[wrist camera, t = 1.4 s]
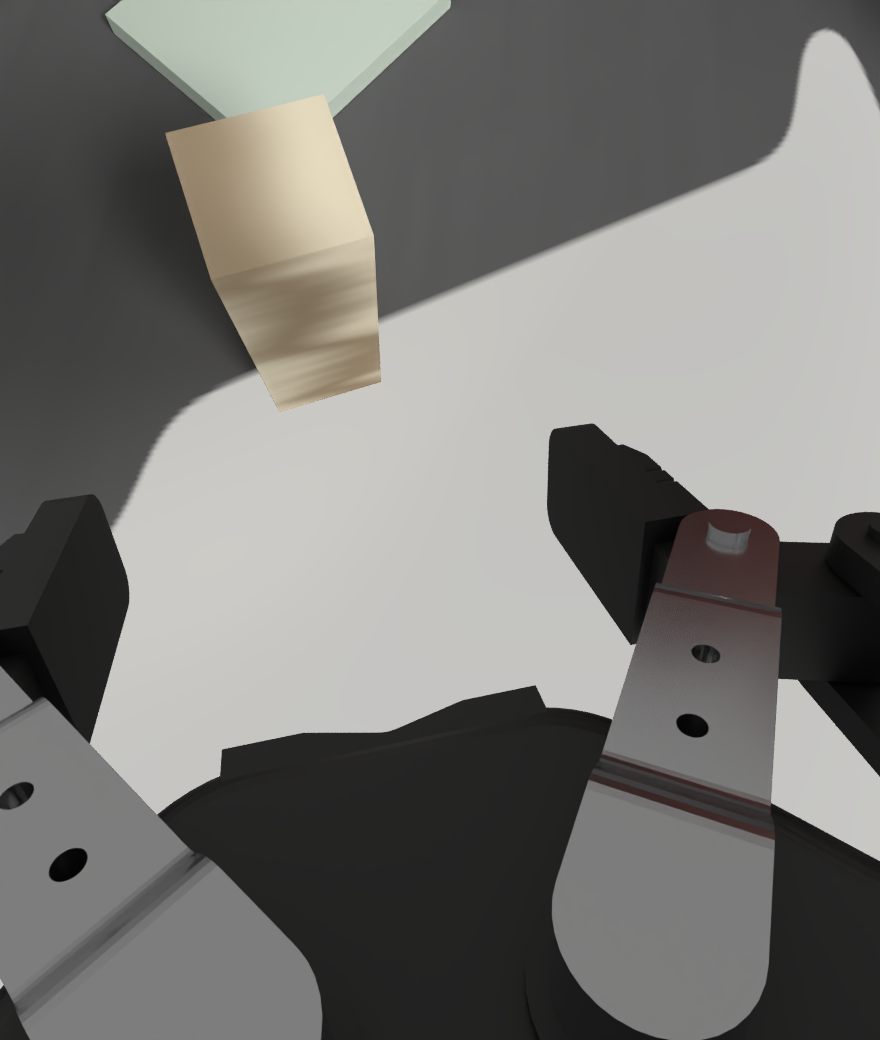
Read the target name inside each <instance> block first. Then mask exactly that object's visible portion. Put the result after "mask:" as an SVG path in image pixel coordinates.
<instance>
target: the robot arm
mask: <svg viewBox="0 0 880 1040" xmlns="http://www.w3.org/2000/svg"><path fill="white" fill-rule="evenodd" d="M548 460H549V461H548V493H547V510H548V517H549V521H550V525H551V528H552V531H553V533H554V535H555V536H556V538H557V539H558V541H559V542H560V544H561V545H562V546H563V548H564V549H565V551H566V552H567V553H568V555H569V557H570V558H571V559H572V561H573V562H574V564H575V565H576V567H577V568H578V570H579V571H580V572H581V574H582V575H583V577H584V578H585V580H586V581H587V583H588V584H589V585H590V587H591V588H592V590H593V591H594V593H595V594H596V595H597V597H598V598H599V600H600V601H601V603H602V604H603V606H604V607H605V609H606V610H607V611H608V613H609V614H610V616H611V617H612V619H613V620H614V622H615V623H616V624H617V626H618V627H619V629H620V630H621V632H622V633H623V635H624V636H625V637H626V639H627V640H628V642H629V643H630V645H632V644H636V647H635V650H634V654H633V657H632V660H631V663H630V666H629V669H628V672H627V676H626V679H625V682H624V685H623V689H622V691H621V695H620V698H619V701H618V704H617V708H616V710H615V714H614V717H613V720H611V719H609V718H606V717H603V716H599V715H596V714H592V713H588V712H583V711H578V710H572V709H563V708H546V707H545V704H544V702H543V701H542V698H541V696H540V694H539V692H538V690H537V688H536V686H530V687H525V688H520V689H516V690H510V691H506V692H501V693H496V694H491V695H486V696H482V697H477V698H472V699H467V700H462V701H460V702H458V703H455V704H453V705H451V706H448V707H446V708H444V709H441V710H439V711H437V712H434V713H432V714H430V715H428V716H425V717H423V718H421V719H418V720H416V721H414V722H411V723H409V724H407V725H405V726H402V727H400V728H398V729H395V730H392V731H389V732H383V733H301V734H296V735H291V736H286V737H281V738H276V739H271V740H266V741H262V742H257V743H252V744H247V745H242V746H237V747H232V748H228V749H223V750H222V758H221V772H220V776H219V777H217V778H215V779H213V780H210V781H208V782H206V783H204V784H203V785H201V786H199V787H197V788H196V789H193V790H192V791H190V792H188V793H187V794H185V795H184V796H182V797H181V798H179V799H177V800H176V801H174V802H173V803H172V804H170V805H169V806H168V807H166V808H165V809H164V810H163V811H161V812H160V813H159V814H158V815H156V813H155V812H154V811H153V810H152V809H151V808H150V807H149V806H148V805H147V804H146V803H145V802H144V801H143V800H142V799H141V798H140V797H139V795H138V794H137V793H136V792H135V791H134V790H133V789H132V788H131V787H130V786H129V785H128V784H127V783H126V782H125V781H124V780H123V779H122V778H121V777H120V776H119V774H118V773H117V772H116V771H114V769H113V768H112V767H111V766H110V765H109V764H108V763H107V762H106V761H105V760H104V759H103V758H102V757H101V755H99V753H97V751H96V750H95V749H94V748H93V747H92V746H91V745H90V741H91V737H92V734H93V730H94V726H95V723H96V719H97V716H98V712H99V709H100V705H101V702H102V698H103V694H104V691H105V687H106V684H107V680H108V677H109V673H110V670H111V666H112V662H113V659H114V656H115V652H116V648H117V645H118V641H119V638H120V634H121V631H122V627H123V623H124V620H125V617H126V613H127V609H128V605H129V586H128V579H127V575H126V571H125V568H124V566H123V563H122V560H121V557H120V554H119V552H118V549H117V546H116V543H115V541H114V538H113V535H112V532H111V529H110V527H109V524H108V521H107V518H106V516H105V513H104V510H103V508H102V505H101V503H100V501H99V500H98V498H97V497H96V496H95V495H93V494H91V495H84V496H77V497H70V498H63V499H56V500H49V501H44V502H43V503H42V504H41V506H40V508H39V509H38V511H37V513H36V514H35V516H34V518H33V520H32V521H31V523H30V525H29V526H28V528H27V530H26V532H25V533H22V534H15V535H13V536H12V537H11V538H10V539H8V540H7V541H6V542H4V543H3V544H2V545H1V546H0V979H1V981H2V982H3V984H4V985H3V987H2V988H1V989H0V1040H880V861H878V860H876V859H874V858H873V857H871V856H869V855H867V854H865V853H863V852H862V851H860V850H858V849H856V848H854V847H852V846H850V845H848V844H847V843H844V842H843V841H841V840H839V839H837V838H835V837H833V836H832V835H830V834H828V833H826V832H824V831H822V830H821V829H819V828H817V827H815V826H813V825H811V824H809V823H807V822H806V821H804V820H802V819H800V818H798V817H796V816H794V815H793V814H791V813H789V812H787V811H785V810H783V809H781V808H779V807H778V806H776V805H774V804H772V803H771V791H772V774H773V757H774V740H775V723H776V722H775V721H776V705H777V688H778V679H795V680H798V681H799V682H800V683H801V685H802V686H803V687H804V688H805V689H806V691H807V692H808V693H809V694H810V695H811V697H812V698H813V699H814V700H815V701H816V702H817V703H818V705H819V706H820V707H821V708H822V709H823V710H824V711H825V713H826V714H827V715H828V716H829V718H830V719H831V720H832V721H833V722H834V723H835V725H836V726H837V727H838V728H839V729H840V730H841V732H842V733H843V734H844V735H845V736H846V737H847V739H848V740H849V741H850V742H851V743H852V745H853V746H854V747H855V748H856V749H857V750H858V752H859V753H860V754H861V755H862V756H863V757H864V759H865V760H866V761H867V762H868V763H869V764H870V765H871V767H872V768H873V769H874V770H875V772H876V773H877V774H878V775H879V776H880V513H876V512H860V513H854V514H849V515H846V516H843V517H842V518H840V519H839V520H838V521H837V522H836V524H835V527H834V531H833V534H832V537H831V541H830V543H807V542H780V541H779V536H778V534H777V532H776V531H775V530H774V529H773V528H772V527H771V526H770V525H769V524H767V523H766V522H764V521H763V520H761V519H759V518H757V517H754V516H752V515H749V514H745V513H742V512H737V511H733V510H723V509H712V510H711V509H710V510H709V509H708V508H706V507H705V506H704V505H703V504H702V503H701V502H700V501H698V500H697V499H696V498H695V497H694V496H693V495H692V494H691V493H690V492H688V491H687V490H686V489H685V488H684V487H683V486H681V485H680V484H679V483H678V482H677V481H676V482H674V478H673V477H671V476H670V475H669V474H668V473H667V472H666V471H664V470H663V471H662V469H661V467H660V466H659V465H658V464H657V463H655V462H654V461H653V460H652V459H651V458H650V457H649V456H648V455H646V454H644V453H642V452H639V451H637V450H635V449H633V448H630V447H628V446H625V445H617V444H615V443H614V442H613V441H612V440H611V439H610V438H609V437H608V436H607V435H606V434H604V433H603V431H601V430H600V429H599V428H598V427H597V426H596V425H595V424H585V425H578V426H571V427H564V428H557V429H554V430H553V431H552V432H551V435H550V439H549V459H548Z"/></svg>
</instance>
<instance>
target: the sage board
mask: <svg viewBox="0 0 880 1040" xmlns="http://www.w3.org/2000/svg"><path fill="white" fill-rule="evenodd" d="M450 5H451V0H122V1H120V2H119V3H118V4H117V5H116V6H114V7H113V8H112V9H111V10H110V11H108V12H107V13H106V14H105V15H106V17H107V20H108V22H109V24H110V26H111V28H112V30H113V32H114V34H115V35H116V36H117V37H118V38H120V39H121V40H122V41H123V42H124V43H126V44H127V45H128V46H129V47H130V48H131V49H133V50H134V51H135V52H136V53H137V54H138V55H140V56H141V57H142V58H143V59H144V60H146V61H147V62H148V63H149V64H150V65H151V66H153V67H154V68H155V69H156V70H157V71H158V72H160V73H161V74H162V75H163V76H164V77H165V78H167V79H168V80H169V81H170V82H171V83H173V84H174V85H175V86H176V87H177V88H178V89H180V90H181V91H182V92H183V93H184V94H185V95H187V96H188V97H189V98H190V99H191V100H193V101H194V102H195V103H196V104H197V105H198V106H200V107H201V108H202V109H203V110H204V111H205V112H207V113H208V114H209V115H210V116H211V117H212V118H214V119H215V120H216V121H217V120H221V119H225V118H229V117H233V116H237V115H241V114H245V113H249V112H253V111H257V110H261V109H265V108H269V107H273V106H277V105H282V104H286V103H290V102H294V101H298V100H302V99H306V98H310V97H314V96H318V95H322V94H324V96H325V99H326V101H327V104H328V107H329V110H330V113H331V116H332V118H333V117H334V116H335V115H336V114H337V113H338V112H340V111H341V110H342V109H343V108H344V107H345V106H346V105H347V104H348V103H349V102H350V101H351V100H352V99H353V98H354V97H356V96H357V95H358V94H359V93H360V92H361V91H362V90H363V89H364V88H365V87H366V86H367V85H368V84H369V83H371V82H372V81H373V80H374V79H375V78H376V77H377V76H378V75H379V74H380V73H381V72H382V71H383V70H384V69H385V68H387V67H388V66H389V65H390V64H391V63H392V62H393V61H394V60H395V59H396V58H397V57H398V56H399V55H400V54H401V53H403V52H404V51H405V50H406V49H407V48H408V47H409V46H410V45H411V44H412V43H413V42H414V41H415V40H416V39H418V38H419V37H420V36H421V35H422V34H423V33H424V32H425V31H426V30H427V29H428V28H429V27H430V26H431V25H432V24H434V23H435V22H436V21H437V20H438V19H439V18H440V17H441V16H442V15H443V14H444V13H445V12H446V11H447V10H448V9H450Z"/></svg>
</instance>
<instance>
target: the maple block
mask: <svg viewBox="0 0 880 1040" xmlns="http://www.w3.org/2000/svg"><path fill="white" fill-rule="evenodd" d="M165 134H166V138H167V141H168V144H169V147H170V150H171V154H172V157H173V160H174V163H175V166H176V170H177V173H178V176H179V179H180V182H181V186H182V189H183V192H184V195H185V198H186V201H187V205H188V208H189V211H190V214H191V217H192V221H193V224H194V227H195V230H196V233H197V237H198V240H199V243H200V246H201V249H202V253H203V256H204V259H205V262H206V265H207V269H208V272H209V275H210V278H211V281H212V283H213V285H214V287H215V289H216V290H217V292H218V294H219V296H220V298H221V300H222V302H223V304H224V306H225V308H226V310H227V312H228V314H229V316H230V317H231V319H232V321H233V323H234V325H235V327H236V329H237V331H238V333H239V335H240V337H241V339H242V341H243V343H244V344H245V346H246V348H247V350H248V352H249V354H250V356H251V358H252V360H253V362H254V364H255V366H256V368H257V370H258V371H259V373H260V375H261V377H262V379H263V381H264V383H265V385H266V387H267V389H268V391H269V393H270V395H271V396H272V398H273V400H274V402H275V404H276V406H277V408H278V410H279V412H281V411H285V410H288V409H292V408H295V407H298V406H302V405H304V404H308V403H311V402H315V401H318V400H321V399H325V398H328V397H332V396H335V395H338V394H342V393H345V392H348V391H352V390H355V389H358V388H362V387H365V386H368V385H372V384H375V383H378V382H381V373H380V353H379V335H378V312H377V292H376V271H375V251H374V235H373V232H372V229H371V226H370V224H369V221H368V218H367V215H366V212H365V209H364V206H363V204H362V201H361V198H360V195H359V192H358V189H357V187H356V184H355V181H354V178H353V175H352V172H351V170H350V167H349V164H348V161H347V158H346V155H345V152H344V150H343V147H342V144H341V141H340V138H339V135H338V133H337V130H336V127H335V124H334V121H333V118H332V116H331V113H330V110H329V107H328V104H327V101H326V99H325V96H324V94H322V95H318V96H314V97H310V98H306V99H302V100H298V101H294V102H290V103H286V104H282V105H277V106H273V107H269V108H265V109H261V110H257V111H253V112H249V113H245V114H241V115H237V116H233V117H229V118H225V119H221V120H217V121H212V122H208V123H204V124H200V125H196V126H192V127H188V128H184V129H180V130H176V131H172V132H168V133H165Z"/></svg>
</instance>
